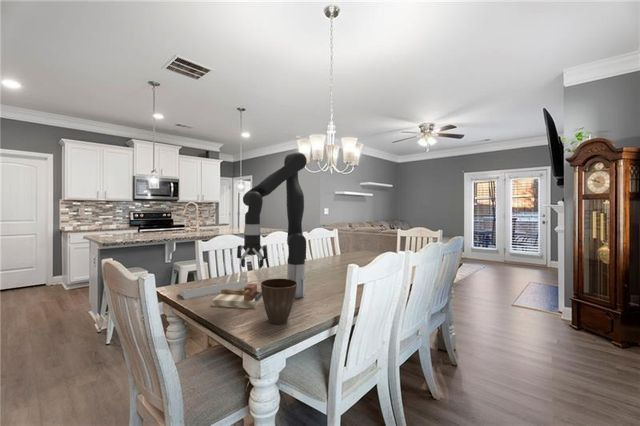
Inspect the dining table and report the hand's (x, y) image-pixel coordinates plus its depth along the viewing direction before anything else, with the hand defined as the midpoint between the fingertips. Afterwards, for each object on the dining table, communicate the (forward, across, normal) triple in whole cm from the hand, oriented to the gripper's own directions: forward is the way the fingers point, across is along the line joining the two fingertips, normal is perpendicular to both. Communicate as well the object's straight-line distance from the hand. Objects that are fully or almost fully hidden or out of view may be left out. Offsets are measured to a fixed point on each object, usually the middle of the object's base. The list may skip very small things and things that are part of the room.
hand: (252, 267), depth 144 cm
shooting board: (+18, +7, 0) cm, 19 cm away
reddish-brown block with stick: (+15, +1, +3) cm, 15 cm away
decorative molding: (+18, +26, -17) cm, 36 cm away
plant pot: (+18, -17, +18) cm, 31 cm away
